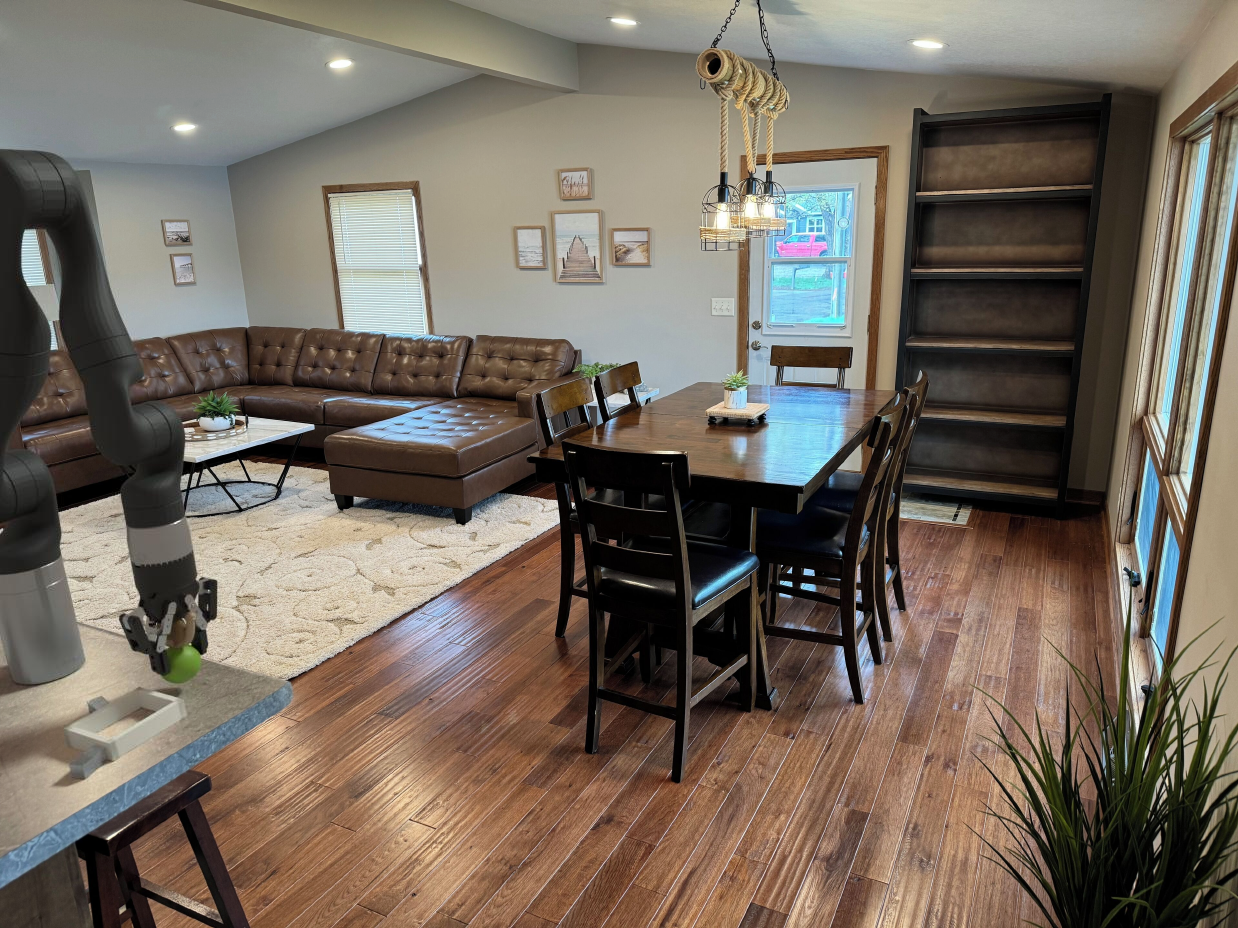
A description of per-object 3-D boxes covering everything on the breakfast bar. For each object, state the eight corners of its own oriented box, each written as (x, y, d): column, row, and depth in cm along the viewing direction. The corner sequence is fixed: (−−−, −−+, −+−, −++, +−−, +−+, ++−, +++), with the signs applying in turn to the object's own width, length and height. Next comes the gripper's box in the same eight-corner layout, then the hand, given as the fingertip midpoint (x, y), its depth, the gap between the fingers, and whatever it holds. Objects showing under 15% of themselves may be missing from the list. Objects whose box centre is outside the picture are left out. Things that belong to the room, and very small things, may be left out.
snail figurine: (193, 693, 117) (179, 614, 113) (152, 688, 118) (137, 610, 114) (218, 673, 122) (205, 596, 118) (179, 668, 123) (165, 593, 120)
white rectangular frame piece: (12, 755, 106) (7, 738, 105) (120, 696, 119) (117, 680, 118) (81, 781, 101) (77, 762, 100) (187, 716, 114) (184, 699, 113)
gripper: (187, 529, 122) (205, 635, 127) (92, 566, 109) (116, 683, 114) (225, 536, 119) (242, 645, 124) (132, 575, 106) (155, 694, 111)
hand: (181, 662), depth 119 cm, fingers closed on snail figurine, 5 cm apart
